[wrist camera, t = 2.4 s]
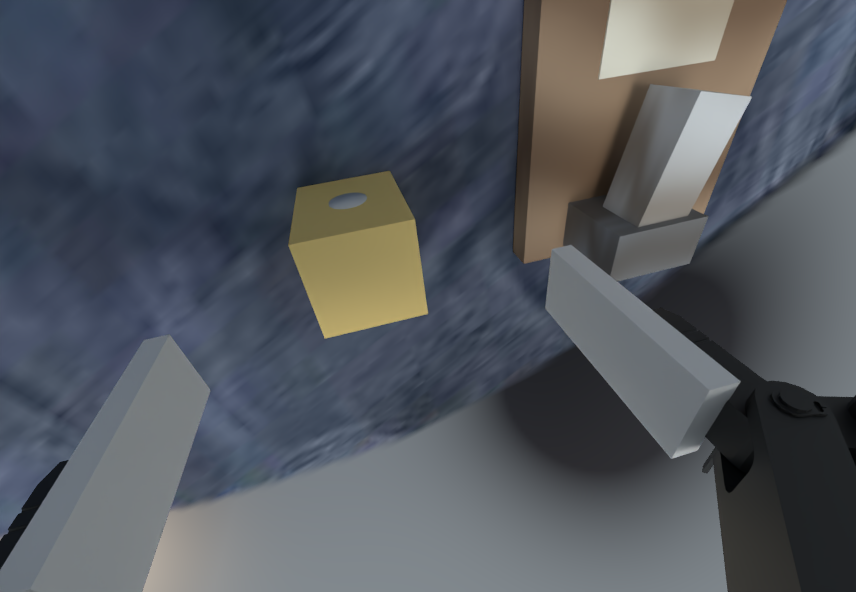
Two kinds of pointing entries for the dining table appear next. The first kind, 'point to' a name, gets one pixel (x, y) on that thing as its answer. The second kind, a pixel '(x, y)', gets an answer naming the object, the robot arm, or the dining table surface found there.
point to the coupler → (357, 253)
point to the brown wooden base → (630, 123)
